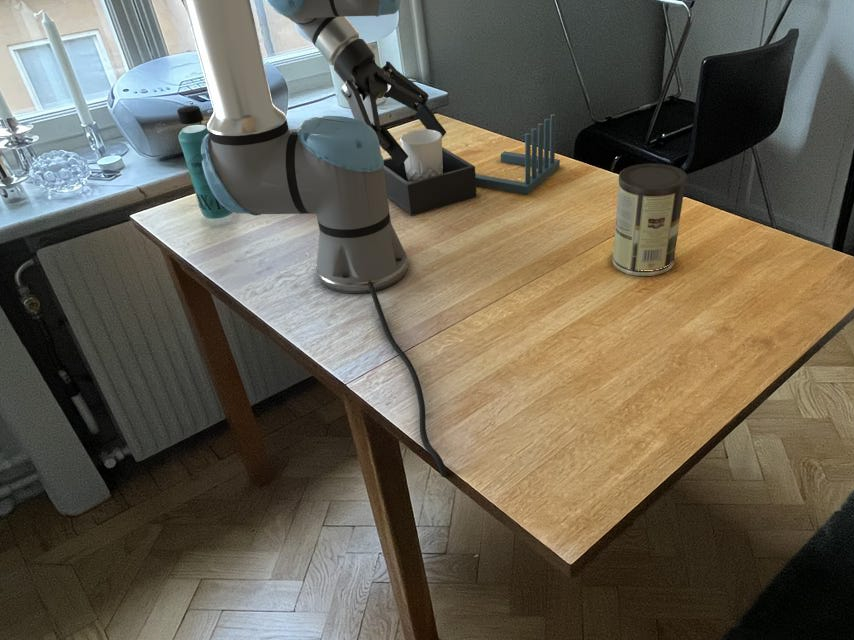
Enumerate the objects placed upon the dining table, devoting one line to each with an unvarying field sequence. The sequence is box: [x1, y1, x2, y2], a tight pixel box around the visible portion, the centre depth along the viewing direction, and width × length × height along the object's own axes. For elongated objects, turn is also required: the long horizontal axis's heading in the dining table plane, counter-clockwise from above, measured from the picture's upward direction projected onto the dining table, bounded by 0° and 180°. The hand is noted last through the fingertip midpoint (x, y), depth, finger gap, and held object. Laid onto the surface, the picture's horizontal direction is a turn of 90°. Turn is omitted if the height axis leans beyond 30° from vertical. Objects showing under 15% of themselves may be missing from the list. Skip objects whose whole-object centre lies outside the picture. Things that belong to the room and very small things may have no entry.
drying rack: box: [475, 113, 561, 196], centre depth 145 cm, size 13×15×11 cm
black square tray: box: [383, 146, 477, 217], centre depth 143 cm, size 15×15×6 cm
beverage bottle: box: [176, 104, 234, 220], centre depth 134 cm, size 6×7×20 cm
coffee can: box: [611, 162, 688, 277], centre depth 116 cm, size 10×10×14 cm
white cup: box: [399, 128, 443, 183], centre depth 141 cm, size 8×8×10 cm
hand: (423, 149), depth 138 cm, fingers open, 13 cm apart
